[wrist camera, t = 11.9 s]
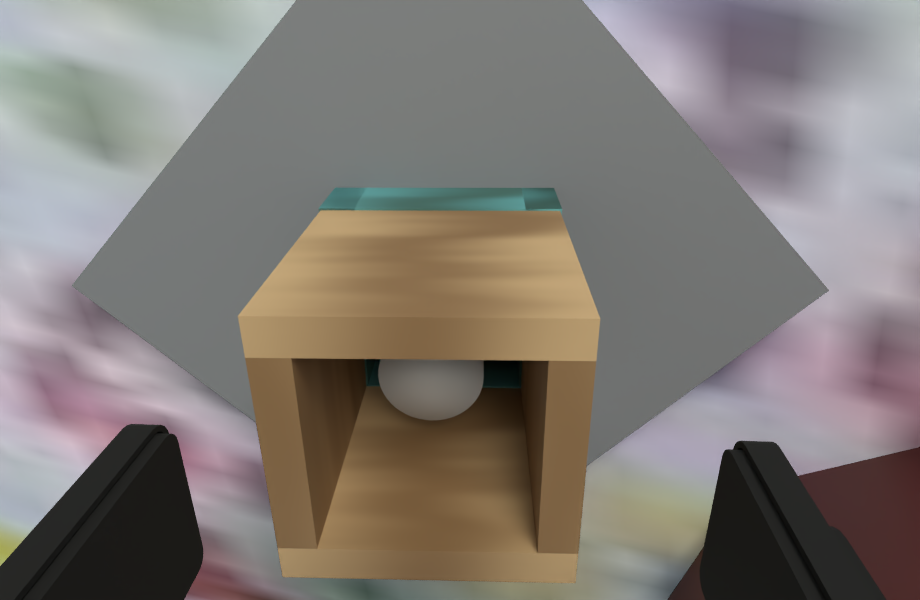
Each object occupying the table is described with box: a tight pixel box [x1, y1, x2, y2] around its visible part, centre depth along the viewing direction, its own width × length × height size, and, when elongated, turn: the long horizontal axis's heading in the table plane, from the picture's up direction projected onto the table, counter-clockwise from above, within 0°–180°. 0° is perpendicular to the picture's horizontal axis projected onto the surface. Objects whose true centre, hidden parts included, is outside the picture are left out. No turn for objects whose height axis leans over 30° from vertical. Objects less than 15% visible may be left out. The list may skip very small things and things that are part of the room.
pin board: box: [72, 0, 829, 466], centre depth 17 cm, size 16×16×6 cm
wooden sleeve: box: [238, 188, 600, 583], centre depth 15 cm, size 6×6×8 cm
